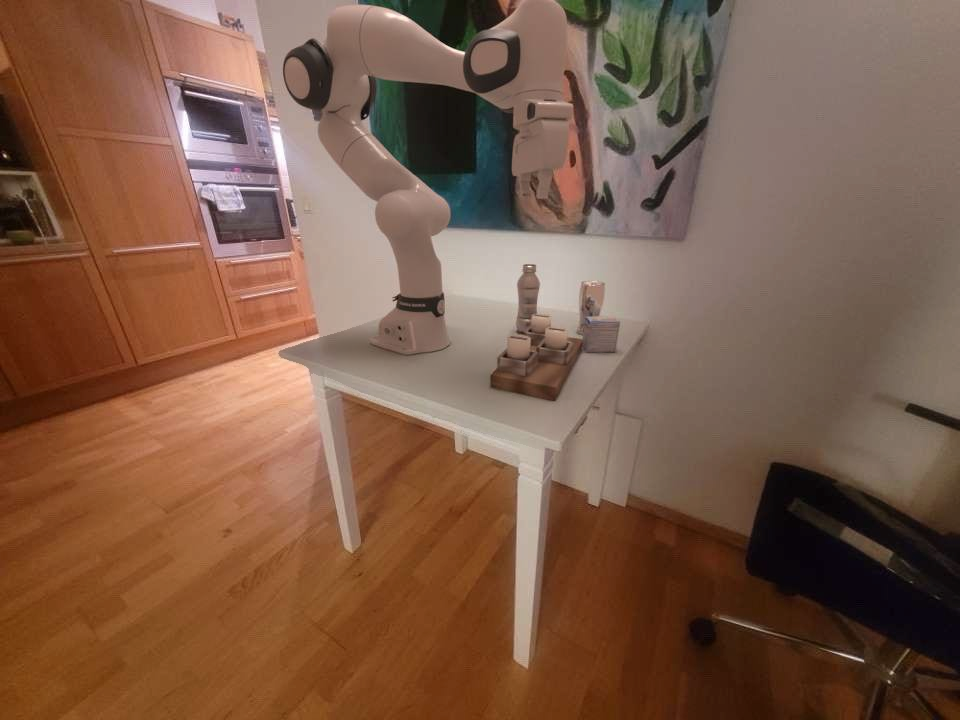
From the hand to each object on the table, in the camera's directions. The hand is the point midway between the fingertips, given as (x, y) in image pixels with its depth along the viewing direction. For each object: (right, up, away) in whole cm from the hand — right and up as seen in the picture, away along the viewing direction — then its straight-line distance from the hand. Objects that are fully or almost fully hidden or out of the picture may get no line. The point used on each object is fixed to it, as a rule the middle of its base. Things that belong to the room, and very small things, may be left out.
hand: (533, 199), depth 72 cm
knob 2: (+5, -24, +22) cm, 33 cm away
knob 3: (+7, -29, +12) cm, 32 cm away
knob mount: (+4, -33, +16) cm, 37 cm away
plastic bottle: (+4, -23, +39) cm, 46 cm away
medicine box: (+21, -29, +26) cm, 44 cm away
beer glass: (+22, -24, +39) cm, 50 cm away
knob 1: (-2, -31, +7) cm, 32 cm away
